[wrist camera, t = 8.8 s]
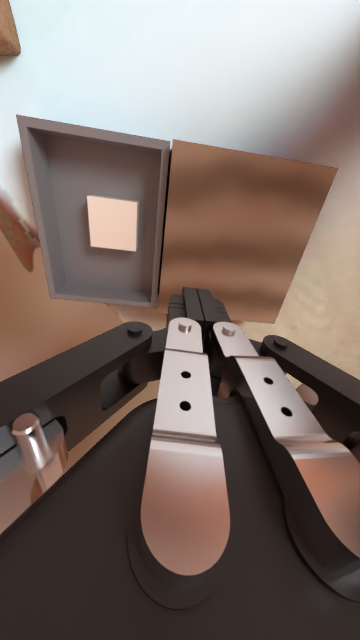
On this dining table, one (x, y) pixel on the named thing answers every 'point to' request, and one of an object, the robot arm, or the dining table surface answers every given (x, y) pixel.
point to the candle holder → (8, 31)
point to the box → (72, 209)
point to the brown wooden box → (238, 226)
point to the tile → (113, 222)
